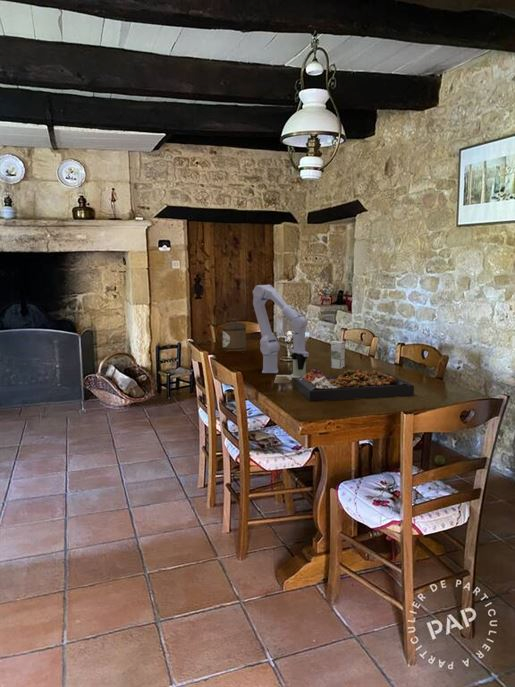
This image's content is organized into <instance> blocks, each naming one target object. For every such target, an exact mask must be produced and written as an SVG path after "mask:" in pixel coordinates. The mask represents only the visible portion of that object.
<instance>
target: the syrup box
mask: <svg viewBox="0 0 515 687" xmlns="http://www.w3.org/2000/svg"><path fill="white" fill-rule="evenodd" d="M345 346H346V342H345V340H335V339H334V340H332V341H331V342H330V368H331V369H337V370H338V369H339V370H341V369H344V368H345V353H346V349H345V348H346V347H345ZM343 367H344V368H343Z"/></svg>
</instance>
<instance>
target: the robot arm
mask: <svg viewBox="0 0 515 687" xmlns="http://www.w3.org/2000/svg"><path fill="white" fill-rule="evenodd" d="M252 296H253V300H252V304H253V308H254V313H255V317H256V320H257V324H258V327H259V332H260V335H261V338H260V341H259V343H260V349H259V350H260V353H262V358H263V359H262V371H261V373H262V374H279V368H278V354H279V353H278V352H279V351H280V349H281V344H280V343H279V341H278V339H277V337H276V336H275V335H274V334H273V331H272V328H271V327H272V326H271V323H270V321H269V316H268V313H267V309H266V306H265V304H266V302H268V300H271V301H272V302H273V303H275V305H277V306H278V307H279V308H280V309H281V310H282V311H281V312H282V315H283V316H284V317H285V318H286V319H287V320H288V321H289V322H290V325H291V326H290V327H292V328H291V329H292V333H293V338H292V341H293V342H292V344H293V345H292V346H293V348H289V353H291V354H290V356H291V358H292V361H293V360H294V359H297V361H298V369H299V370H303V367H304V364H305V361H306V362H307V358H308V357H309V356H310V353H309V351H306V327H307V325H308V319H307V317H306V316H305V315H302V314H301V313H299V312H298V311H297V310H296V309H295V306H293V305H289V304H287V303H286V301H285V300H284V299H283V298H282V297H281V296H280V294H279V293H278V292H277V290H276V288H275V287H273V285H271V284H258V285H255V287H254V289H253V290H252Z"/></svg>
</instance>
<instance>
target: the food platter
mask: <svg viewBox="0 0 515 687" xmlns="http://www.w3.org/2000/svg"><path fill="white" fill-rule="evenodd" d="M309 371H310V372H306V375H305V376H304V377H303V376H301V377H299V378H293V387H294V388H295V389H296V390H297V391H299V393H301V395H302V396H303V397H304V398H305V399H306V400H307V401H309V402H311V401H313V402H324V401H323V400H331V401H339V400H338V399H348V400H354V399H353V398H366V399H379V398H378V397H383V398H396V397H395V396H401V397H413V396H412V395H414V393H415V386H414V385H413V384H411V383H410V382H407V381H405V380H403V379H402V378H398V377H396V376H394V375H392V374H390V373H385V372H380V371H377V370H374V369H373V370H372V371H371V370H370V369H366V370H362V369H361V368H360V369H357V370H356V371H355V370H351V369H346V370H345V371H344V372H343V374H340V375H331V376H330V375H329V376H328V375H325V374H324V372H322V370H317V369H314V368H312V369H311V368H310V370H309ZM311 403H312V402H311Z"/></svg>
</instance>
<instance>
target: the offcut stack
mask: <svg viewBox="0 0 515 687" xmlns="http://www.w3.org/2000/svg"><path fill="white" fill-rule="evenodd" d="M275 378H276V380H275V379H274V381H273V382H274V384H291V383H290V382H291V380H289V378H287V376H276V375H275Z"/></svg>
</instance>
